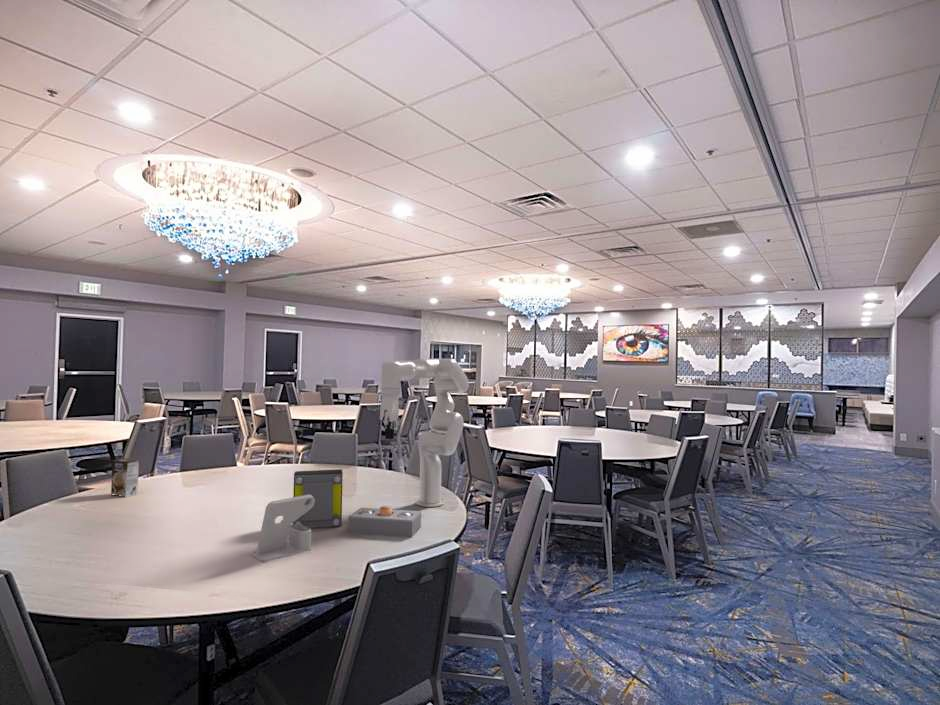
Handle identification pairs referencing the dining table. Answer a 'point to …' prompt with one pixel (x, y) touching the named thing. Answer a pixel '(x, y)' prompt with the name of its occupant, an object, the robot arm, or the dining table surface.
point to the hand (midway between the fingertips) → (389, 438)
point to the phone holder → (284, 529)
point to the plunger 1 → (366, 512)
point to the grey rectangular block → (385, 523)
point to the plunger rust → (385, 511)
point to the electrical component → (320, 497)
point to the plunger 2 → (405, 514)
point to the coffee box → (124, 477)
